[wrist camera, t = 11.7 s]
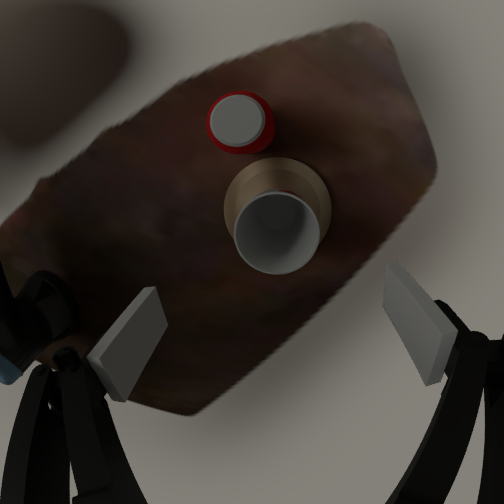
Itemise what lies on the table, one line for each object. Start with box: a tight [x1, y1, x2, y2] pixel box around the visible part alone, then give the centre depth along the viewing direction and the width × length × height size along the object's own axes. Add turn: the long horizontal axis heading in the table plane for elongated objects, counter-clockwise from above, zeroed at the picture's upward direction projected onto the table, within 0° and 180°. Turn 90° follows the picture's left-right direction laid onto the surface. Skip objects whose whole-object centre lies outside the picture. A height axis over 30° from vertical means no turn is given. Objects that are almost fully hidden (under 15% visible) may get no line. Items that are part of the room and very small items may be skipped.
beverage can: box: [206, 91, 275, 154], centre depth 27 cm, size 6×6×12 cm
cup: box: [234, 189, 320, 274], centre depth 31 cm, size 8×8×10 cm
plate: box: [224, 157, 332, 245], centre depth 36 cm, size 14×14×1 cm
